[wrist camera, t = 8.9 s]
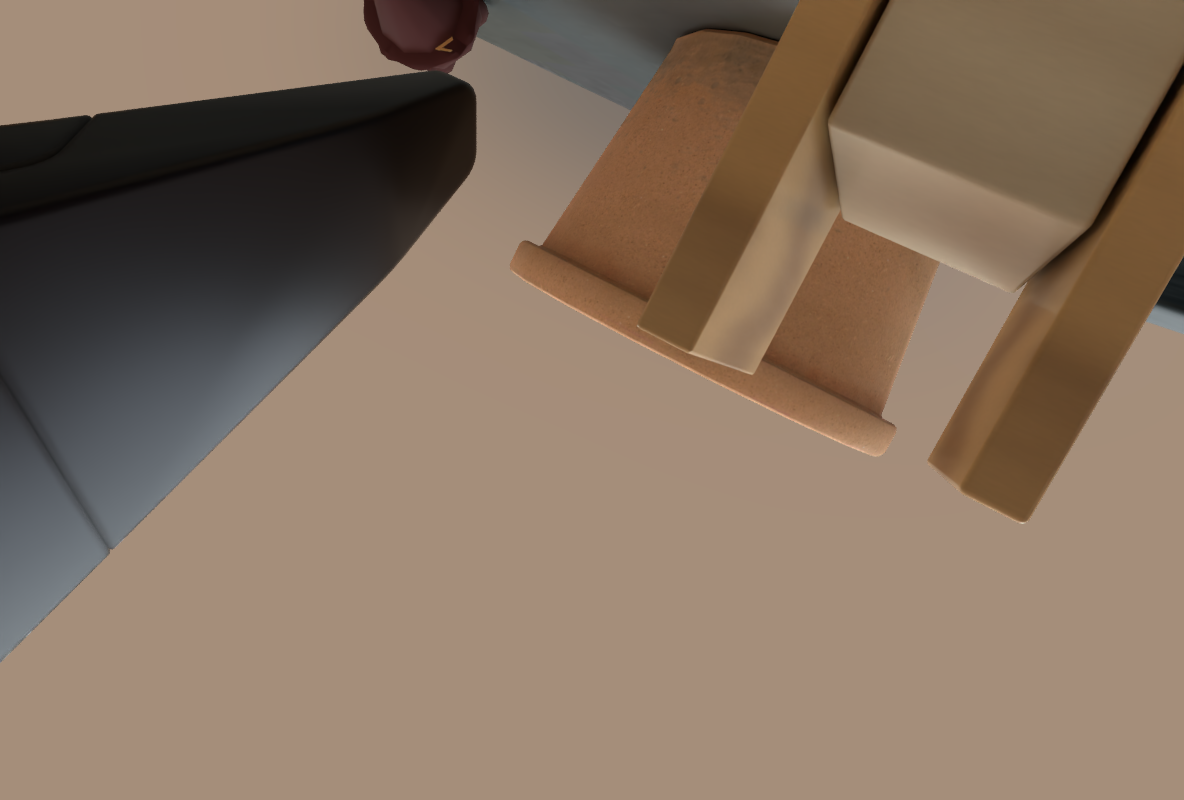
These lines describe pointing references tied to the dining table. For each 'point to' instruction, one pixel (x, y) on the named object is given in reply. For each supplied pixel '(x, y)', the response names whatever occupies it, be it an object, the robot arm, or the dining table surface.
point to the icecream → (425, 30)
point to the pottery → (659, 216)
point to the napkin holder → (958, 199)
